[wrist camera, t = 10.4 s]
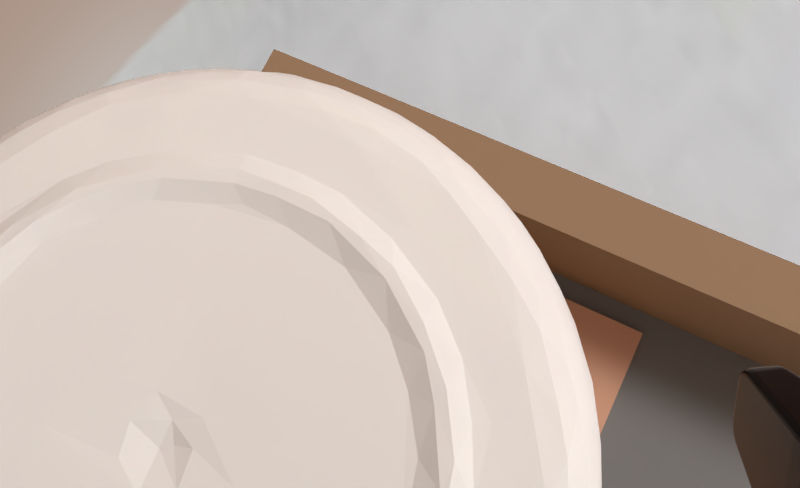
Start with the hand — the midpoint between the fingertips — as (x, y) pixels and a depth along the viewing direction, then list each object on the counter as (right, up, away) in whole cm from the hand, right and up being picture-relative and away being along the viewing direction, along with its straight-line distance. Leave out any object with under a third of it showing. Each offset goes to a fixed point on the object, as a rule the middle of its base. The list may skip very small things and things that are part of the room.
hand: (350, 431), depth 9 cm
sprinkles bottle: (+1, -2, +8) cm, 9 cm away
